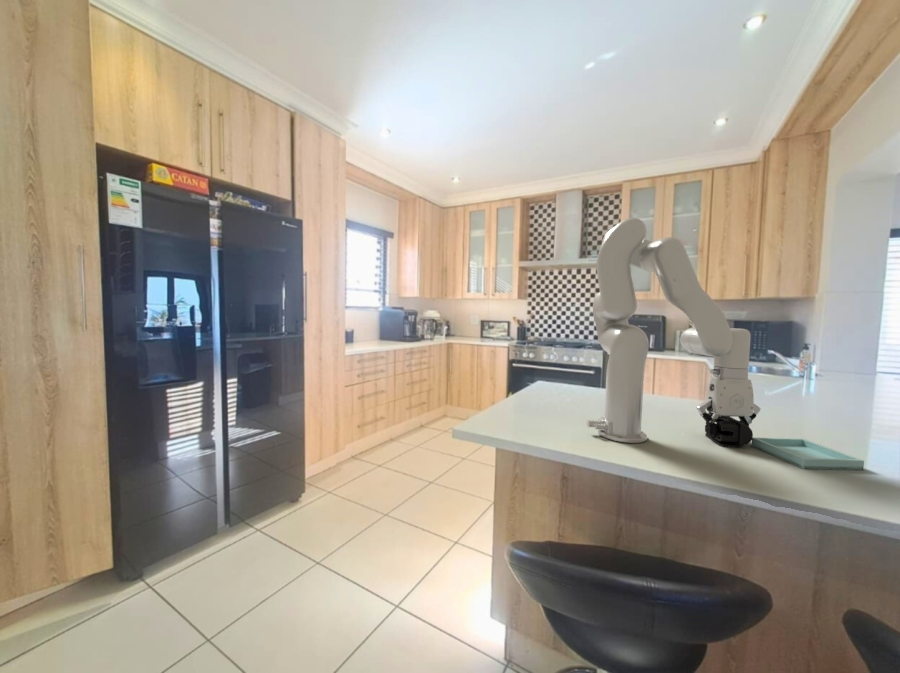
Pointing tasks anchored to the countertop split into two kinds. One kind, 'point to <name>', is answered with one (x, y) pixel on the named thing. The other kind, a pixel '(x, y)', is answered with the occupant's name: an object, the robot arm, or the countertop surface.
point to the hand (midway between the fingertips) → (726, 436)
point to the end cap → (731, 433)
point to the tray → (807, 454)
